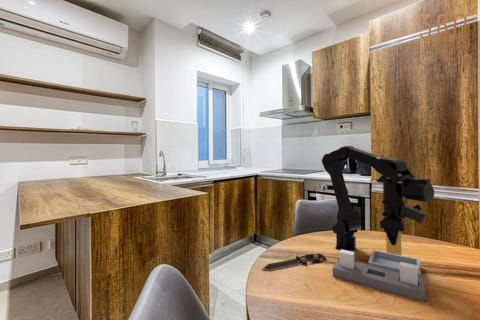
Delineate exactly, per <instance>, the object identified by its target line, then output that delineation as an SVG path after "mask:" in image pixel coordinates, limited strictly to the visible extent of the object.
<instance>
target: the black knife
mask: <svg viewBox="0 0 480 320" xmlns="http://www.w3.org/2000/svg"><path fill="white" fill-rule="evenodd" d="M317 255H318V256H317ZM310 256H312V257H313V258H312V257H310ZM305 257H307V258H308V259H307V260H303V258H304V259H305ZM311 258H312V259H311ZM300 259H302V260H300ZM321 260H323V261H327V257H325V255H324V254H322V253H309V254H305V255H302V256H299V255H295V258H291V259H288V260H287V259H286V260H281V261H278V262H272V263H268V264H266V265H265V266H264V268H262V269H261V271H269V272H270V271H271V272H272V271H275V270H281V269H286V268H290V267H295V266H299V265H302V264H304V265H305V264H306V265H308V262H312V264H316V263H320V262H321ZM298 261H299V262H298Z"/></svg>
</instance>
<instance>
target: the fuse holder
mask: <svg viewBox="0 0 480 320" xmlns="http://www.w3.org/2000/svg"><path fill="white" fill-rule="evenodd" d="M332 276H333V277H336V278H340V279H343V280H347V281H350V282H353V283H358V284H361V285H365V286H367V287H372V288H376V289H379V290H382V291H386V292H389V293H393V294H396V295H401V296H404V297H408V298H411V299H415V300H419V301H420V302H421V301H422V302H425V303H426V298H427V294H426V293H427V292H426V283H425V277H422V276H421V277H418V286H417V285H413V284H409V283H405V282H401V281H400V272H395V271H391V270H387V269H382V268H378V267H374V266H370V265H368V264H365V263H360V262H355V269H354V270H353V269H349V268H345V267H341V266H340V257H339V258H338V259H337V260H336V262H335V263H334V265H333V267H332Z"/></svg>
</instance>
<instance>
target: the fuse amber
mask: <svg viewBox="0 0 480 320" xmlns="http://www.w3.org/2000/svg"><path fill="white" fill-rule="evenodd" d="M385 234H386V233H385ZM385 241H386V253H391V254H396V255H401V256H402V231H399V232H398V236H397V240H396V245H391V243H390V241H389V239H388V236H387V234H386V239H385Z"/></svg>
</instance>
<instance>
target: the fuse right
mask: <svg viewBox="0 0 480 320" xmlns="http://www.w3.org/2000/svg"><path fill="white" fill-rule="evenodd" d="M400 281H401V282H405V283H409V284H413V285H417V286H418V265H414V264H409V263H404V262H400Z"/></svg>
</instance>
